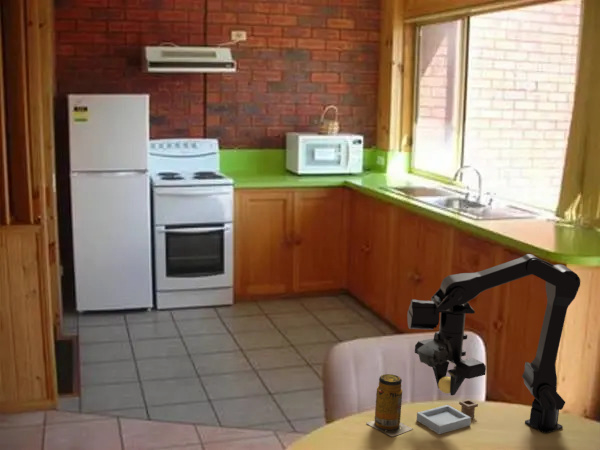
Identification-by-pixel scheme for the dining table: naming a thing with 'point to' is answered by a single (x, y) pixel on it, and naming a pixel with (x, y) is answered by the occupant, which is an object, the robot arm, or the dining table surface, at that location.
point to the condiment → (389, 406)
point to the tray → (443, 419)
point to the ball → (444, 384)
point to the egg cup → (468, 407)
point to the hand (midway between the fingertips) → (446, 391)
